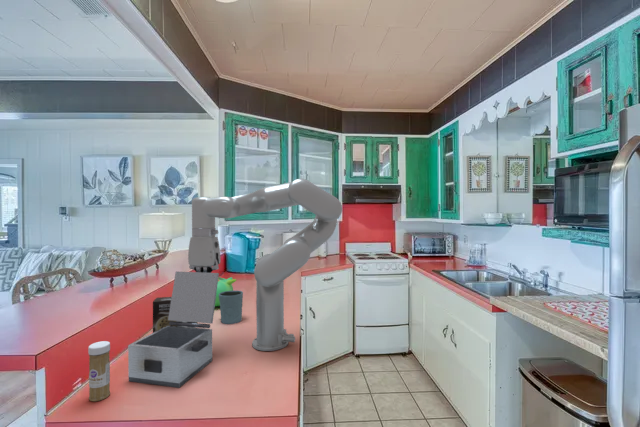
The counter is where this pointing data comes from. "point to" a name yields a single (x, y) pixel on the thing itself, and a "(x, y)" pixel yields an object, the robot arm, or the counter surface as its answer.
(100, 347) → the sprinkles bottle
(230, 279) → the green teapot
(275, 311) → the robot arm
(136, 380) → the cooker
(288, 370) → the counter surface
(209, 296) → the lid
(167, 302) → the coffee box
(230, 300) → the grey cup
